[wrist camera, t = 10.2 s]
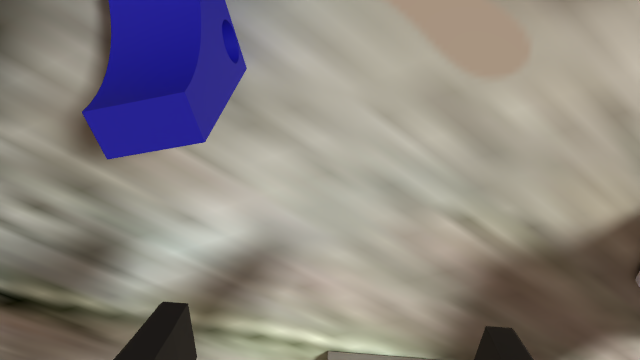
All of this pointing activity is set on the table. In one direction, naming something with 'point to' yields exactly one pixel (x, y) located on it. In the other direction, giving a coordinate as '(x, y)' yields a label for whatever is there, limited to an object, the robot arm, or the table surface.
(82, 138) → the table surface
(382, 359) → the stepped base plate
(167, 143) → the cable clip
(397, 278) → the table surface
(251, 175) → the table surface
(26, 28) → the table surface
